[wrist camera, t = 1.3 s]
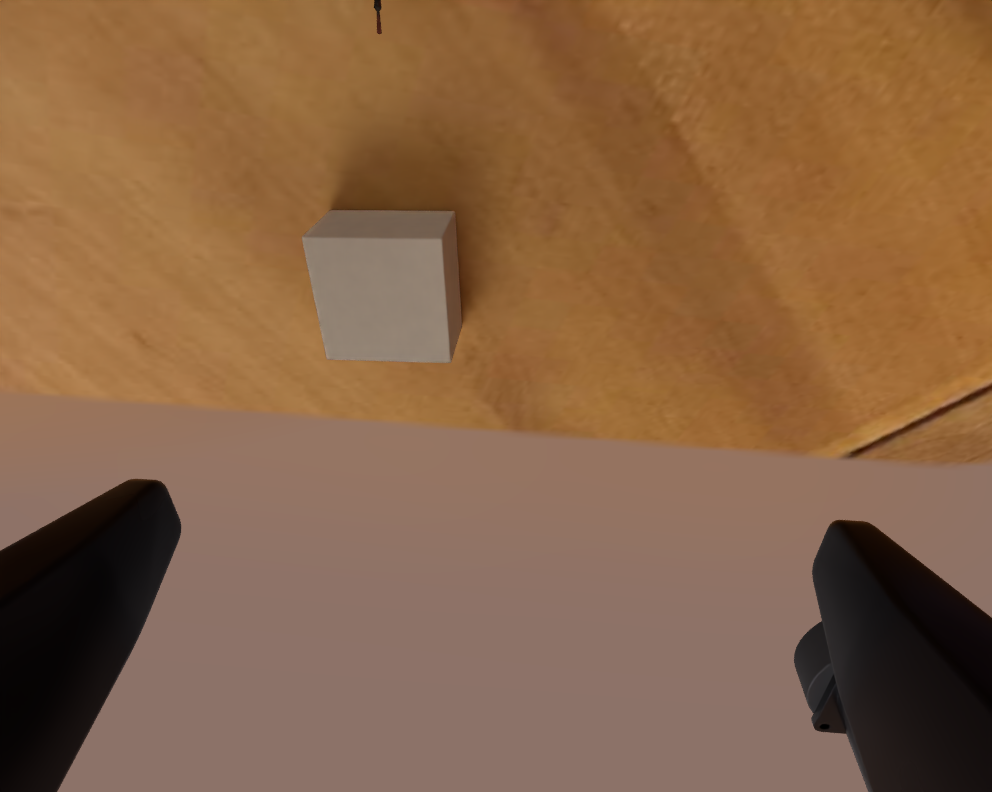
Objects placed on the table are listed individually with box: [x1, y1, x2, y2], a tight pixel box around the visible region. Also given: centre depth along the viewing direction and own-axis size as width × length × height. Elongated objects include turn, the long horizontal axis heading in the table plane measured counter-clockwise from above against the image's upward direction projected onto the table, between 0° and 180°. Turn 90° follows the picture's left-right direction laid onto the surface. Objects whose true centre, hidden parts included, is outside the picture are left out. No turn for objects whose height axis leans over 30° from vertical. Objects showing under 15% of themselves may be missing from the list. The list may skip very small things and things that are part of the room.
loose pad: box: [302, 210, 462, 363], centre depth 19 cm, size 4×4×2 cm
